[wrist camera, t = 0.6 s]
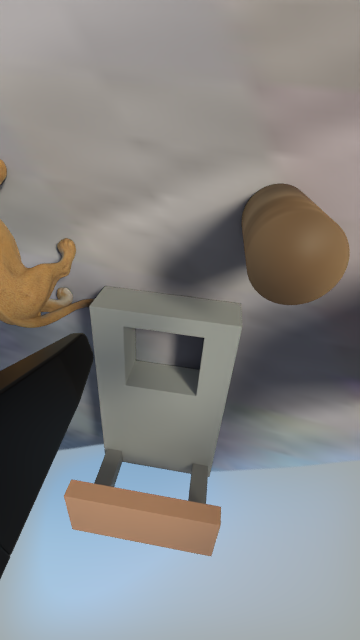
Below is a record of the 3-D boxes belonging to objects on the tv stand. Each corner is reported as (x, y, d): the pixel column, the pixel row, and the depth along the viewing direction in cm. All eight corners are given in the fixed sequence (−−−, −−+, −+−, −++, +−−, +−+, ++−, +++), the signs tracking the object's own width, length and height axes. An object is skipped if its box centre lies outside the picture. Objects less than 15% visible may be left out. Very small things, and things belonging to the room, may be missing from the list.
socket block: (241, 303, 22) (242, 326, 19) (211, 448, 31) (209, 476, 28) (105, 286, 22) (89, 305, 20) (115, 432, 32) (105, 458, 29)
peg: (319, 187, 17) (365, 218, 11) (299, 254, 19) (329, 310, 13) (248, 180, 17) (257, 207, 12) (236, 247, 20) (239, 299, 14)
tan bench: (223, 416, 28) (220, 525, 20) (215, 449, 31) (211, 556, 23) (108, 398, 29) (63, 496, 21) (110, 431, 32) (72, 529, 24)
